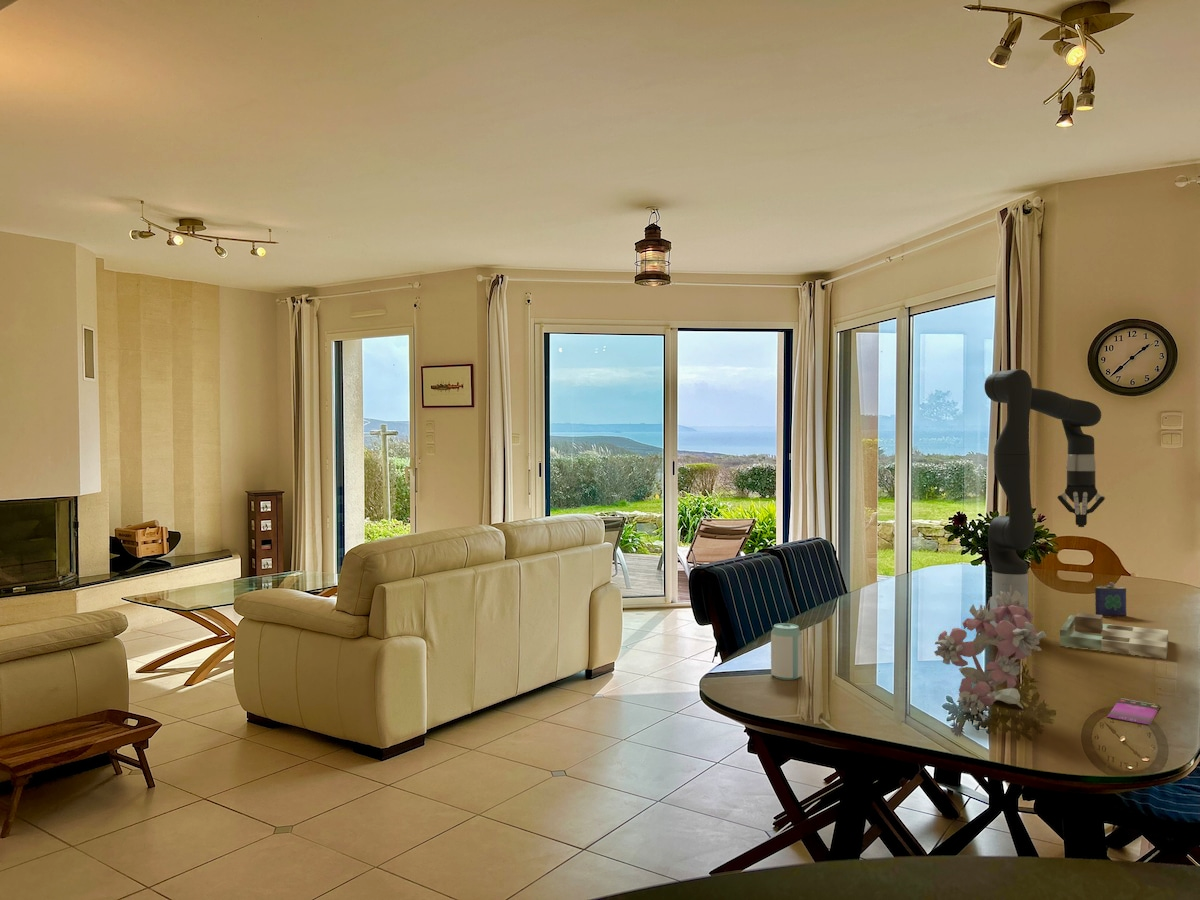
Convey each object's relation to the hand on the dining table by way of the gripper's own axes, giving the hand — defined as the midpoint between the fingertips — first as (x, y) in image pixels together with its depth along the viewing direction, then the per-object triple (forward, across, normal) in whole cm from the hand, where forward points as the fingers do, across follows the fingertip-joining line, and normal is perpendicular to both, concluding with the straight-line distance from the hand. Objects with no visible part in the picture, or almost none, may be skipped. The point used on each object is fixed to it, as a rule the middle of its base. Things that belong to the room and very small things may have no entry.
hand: (1081, 526), depth 252 cm
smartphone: (+30, -18, +89) cm, 96 cm away
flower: (+29, +7, +104) cm, 108 cm away
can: (+29, +51, +104) cm, 120 cm away
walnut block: (+26, -4, +26) cm, 37 cm away
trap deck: (+29, -10, +25) cm, 40 cm away
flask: (+29, -7, -16) cm, 34 cm away
